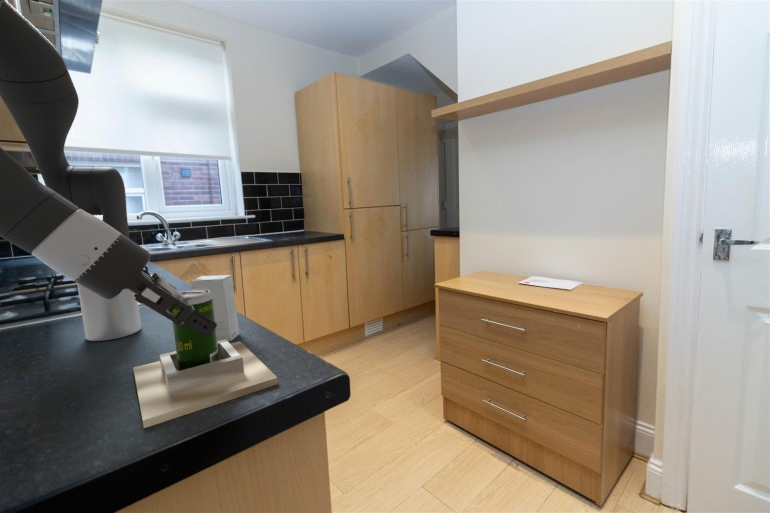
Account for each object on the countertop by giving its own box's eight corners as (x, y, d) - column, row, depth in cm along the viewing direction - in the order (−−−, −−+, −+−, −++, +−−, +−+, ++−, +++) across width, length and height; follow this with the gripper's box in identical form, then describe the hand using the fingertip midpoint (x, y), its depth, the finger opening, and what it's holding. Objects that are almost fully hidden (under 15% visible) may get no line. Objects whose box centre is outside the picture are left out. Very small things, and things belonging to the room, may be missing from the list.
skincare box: (240, 333, 73) (234, 273, 71) (230, 342, 69) (224, 278, 67) (209, 334, 73) (202, 274, 71) (197, 343, 69) (190, 279, 67)
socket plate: (134, 373, 57) (131, 352, 56) (240, 346, 66) (238, 327, 66) (143, 428, 43) (139, 400, 42) (277, 384, 52) (276, 360, 52)
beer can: (225, 363, 57) (217, 287, 55) (212, 379, 52) (203, 297, 50) (188, 365, 57) (179, 289, 55) (172, 382, 51) (161, 299, 50)
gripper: (120, 234, 41) (236, 312, 50) (116, 228, 52) (212, 293, 61) (65, 289, 39) (197, 361, 47) (74, 270, 50) (179, 331, 59)
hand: (205, 322), depth 54 cm, fingers open, 8 cm apart
